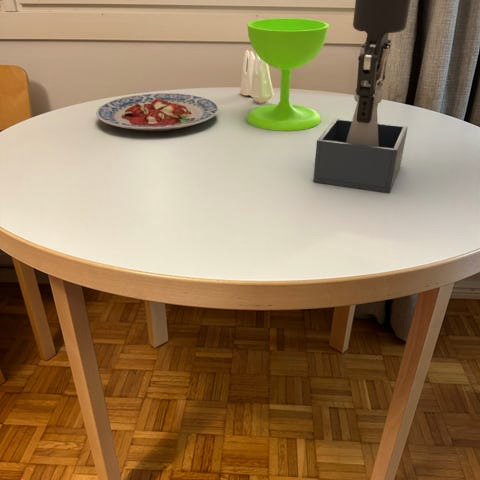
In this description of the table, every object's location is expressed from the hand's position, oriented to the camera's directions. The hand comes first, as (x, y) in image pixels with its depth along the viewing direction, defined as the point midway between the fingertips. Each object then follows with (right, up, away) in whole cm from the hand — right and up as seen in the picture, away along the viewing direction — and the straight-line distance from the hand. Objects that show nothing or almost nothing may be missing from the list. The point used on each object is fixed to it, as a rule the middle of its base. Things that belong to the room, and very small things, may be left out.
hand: (366, 117), depth 84 cm
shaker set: (-16, +21, +43) cm, 51 cm away
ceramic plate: (-38, +11, +30) cm, 49 cm away
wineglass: (-11, +11, +30) cm, 34 cm away
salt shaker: (0, -7, +5) cm, 8 cm away
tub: (0, -7, +6) cm, 9 cm away
